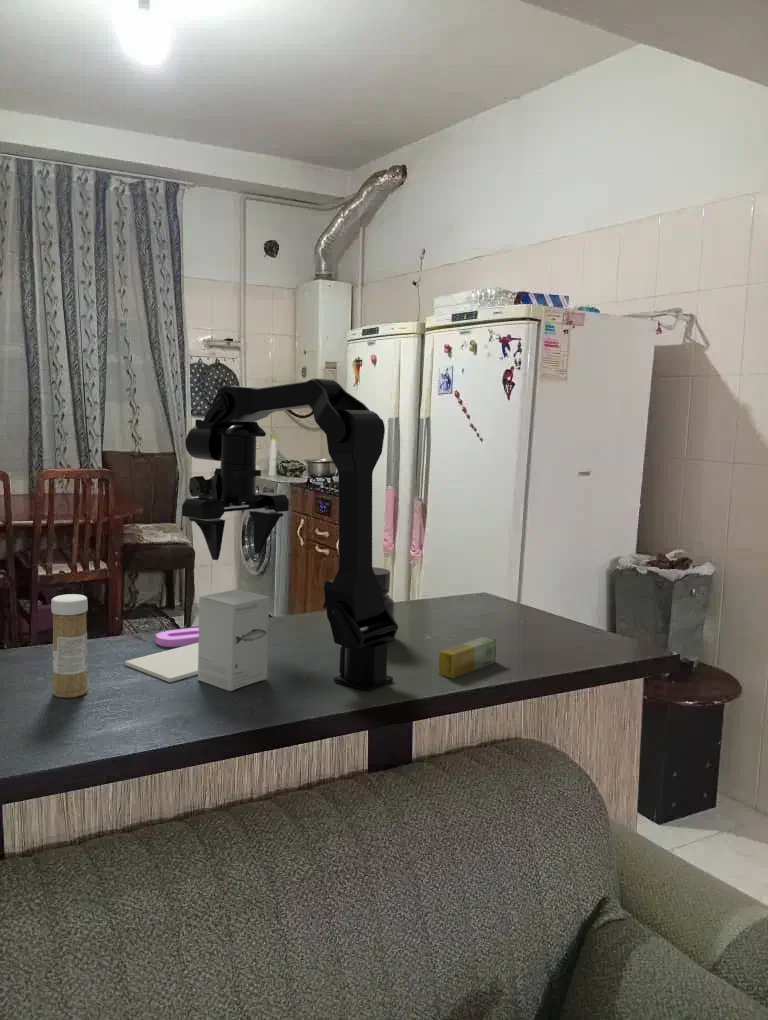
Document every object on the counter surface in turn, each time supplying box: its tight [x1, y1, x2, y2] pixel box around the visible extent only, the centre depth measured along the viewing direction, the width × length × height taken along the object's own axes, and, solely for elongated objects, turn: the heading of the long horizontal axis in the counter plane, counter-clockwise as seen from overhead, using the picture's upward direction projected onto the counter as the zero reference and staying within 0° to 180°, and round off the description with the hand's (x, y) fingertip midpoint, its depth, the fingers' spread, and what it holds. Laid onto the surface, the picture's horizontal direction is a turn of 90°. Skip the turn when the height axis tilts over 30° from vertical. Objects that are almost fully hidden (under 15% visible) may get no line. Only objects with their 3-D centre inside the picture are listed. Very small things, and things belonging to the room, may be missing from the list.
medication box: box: [438, 636, 497, 679], centre depth 128 cm, size 12×3×4 cm, turn 138°
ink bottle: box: [360, 566, 396, 642], centre depth 142 cm, size 10×9×12 cm
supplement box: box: [197, 589, 270, 692], centre depth 118 cm, size 7×7×13 cm
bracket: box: [155, 626, 199, 648], centre depth 137 cm, size 13×6×7 cm, turn 120°
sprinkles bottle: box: [50, 593, 89, 699], centre depth 110 cm, size 5×5×14 cm
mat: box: [124, 643, 198, 683], centre depth 125 cm, size 11×14×1 cm
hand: (236, 556), depth 136 cm, fingers open, 9 cm apart
